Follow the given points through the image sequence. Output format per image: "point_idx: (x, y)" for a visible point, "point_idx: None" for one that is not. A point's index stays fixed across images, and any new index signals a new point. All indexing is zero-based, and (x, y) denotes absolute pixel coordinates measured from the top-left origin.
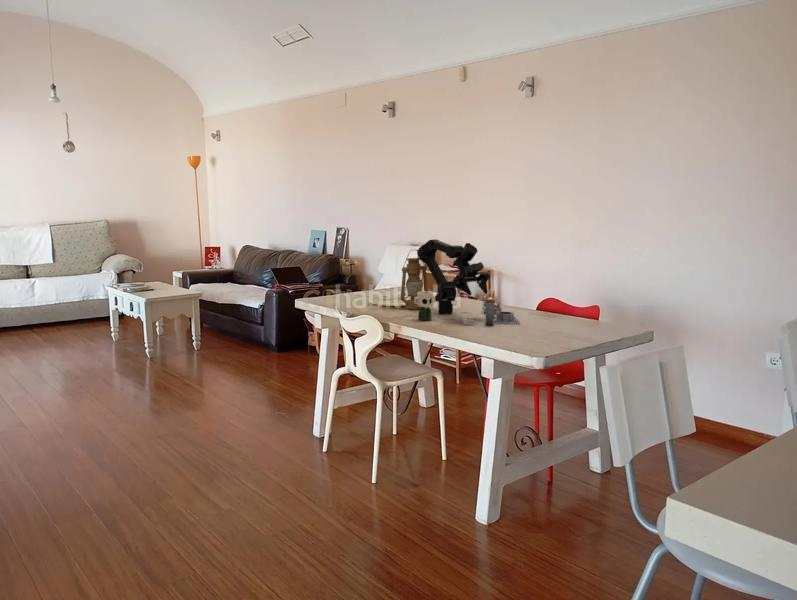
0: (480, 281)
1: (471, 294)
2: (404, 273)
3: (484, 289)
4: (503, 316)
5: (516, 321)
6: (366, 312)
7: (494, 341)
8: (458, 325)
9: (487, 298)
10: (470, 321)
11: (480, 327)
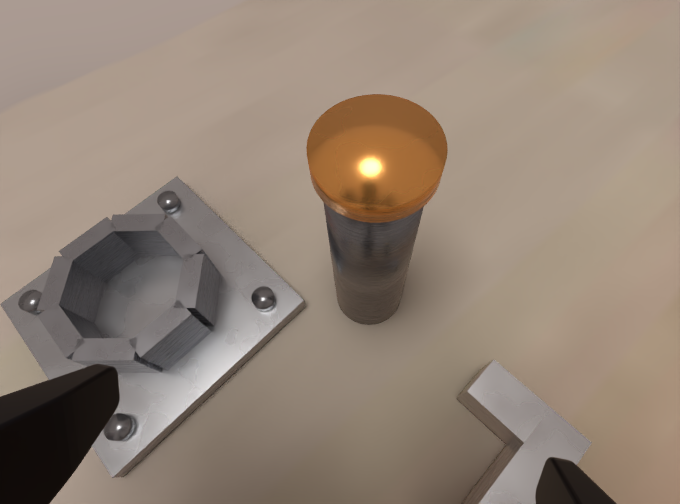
0: None
1: (551, 457)
2: None
3: (26, 461)
4: (204, 254)
5: (177, 196)
6: None
7: (661, 27)
8: (600, 480)
9: (445, 138)
10: (519, 385)
11: (482, 288)
